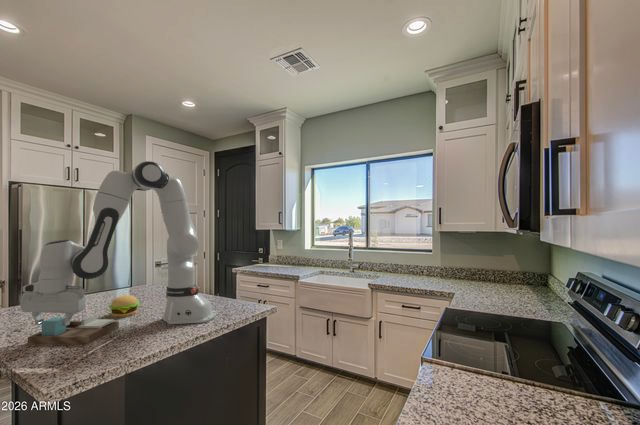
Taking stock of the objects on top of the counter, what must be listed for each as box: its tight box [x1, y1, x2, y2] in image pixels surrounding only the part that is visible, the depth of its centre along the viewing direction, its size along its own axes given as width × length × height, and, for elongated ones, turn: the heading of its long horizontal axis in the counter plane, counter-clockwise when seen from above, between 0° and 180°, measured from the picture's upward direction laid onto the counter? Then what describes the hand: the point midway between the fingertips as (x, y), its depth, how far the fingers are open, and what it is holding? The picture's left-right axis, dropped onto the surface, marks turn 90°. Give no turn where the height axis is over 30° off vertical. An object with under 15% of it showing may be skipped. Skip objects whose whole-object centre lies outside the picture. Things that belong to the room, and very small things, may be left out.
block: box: [41, 316, 67, 336], centre depth 103 cm, size 4×4×7 cm
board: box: [27, 320, 120, 346], centre depth 107 cm, size 20×16×4 cm
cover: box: [78, 314, 115, 328], centre depth 111 cm, size 8×8×3 cm
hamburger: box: [108, 294, 141, 318], centre depth 135 cm, size 12×12×9 cm
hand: (52, 324), depth 103 cm, fingers open, 8 cm apart
